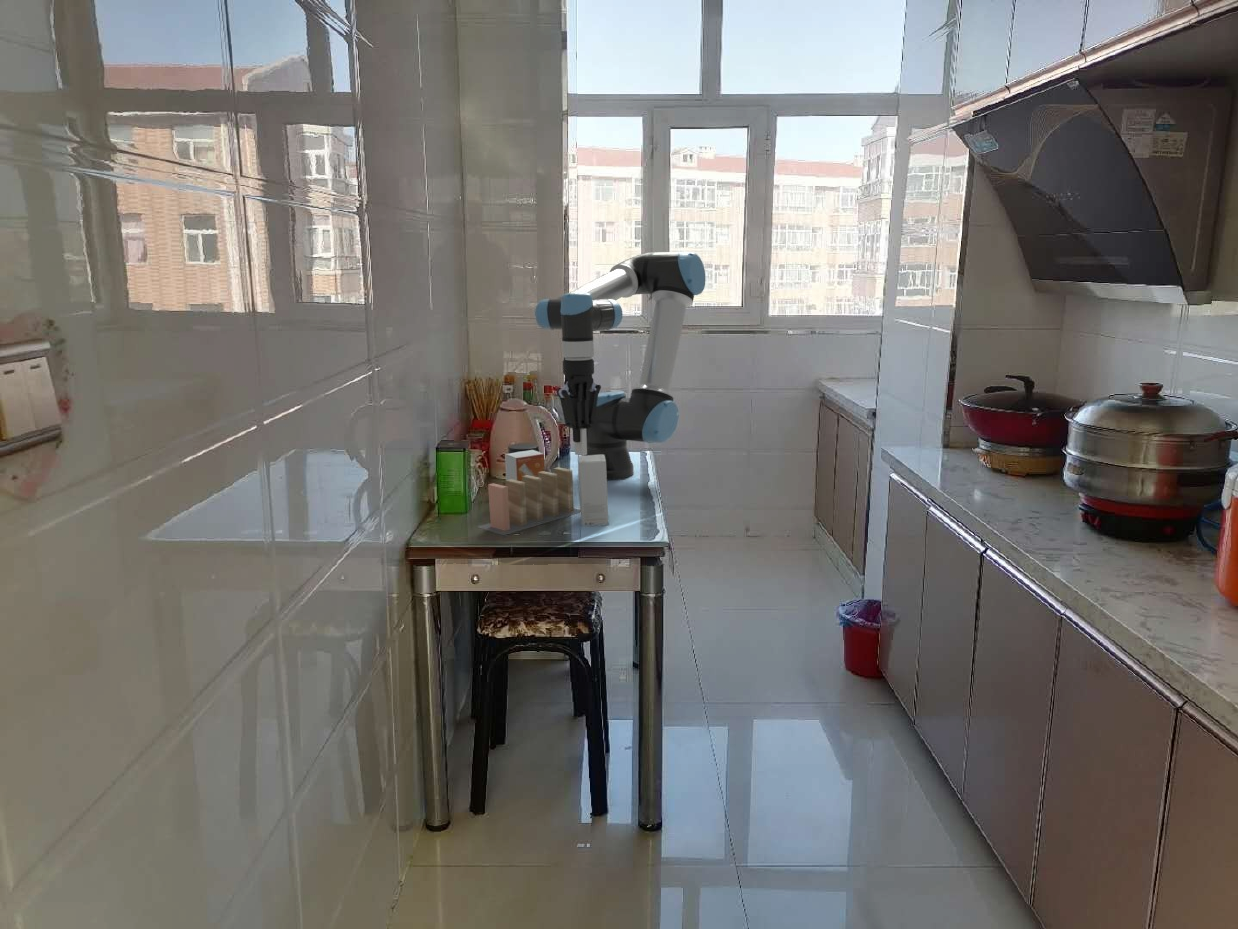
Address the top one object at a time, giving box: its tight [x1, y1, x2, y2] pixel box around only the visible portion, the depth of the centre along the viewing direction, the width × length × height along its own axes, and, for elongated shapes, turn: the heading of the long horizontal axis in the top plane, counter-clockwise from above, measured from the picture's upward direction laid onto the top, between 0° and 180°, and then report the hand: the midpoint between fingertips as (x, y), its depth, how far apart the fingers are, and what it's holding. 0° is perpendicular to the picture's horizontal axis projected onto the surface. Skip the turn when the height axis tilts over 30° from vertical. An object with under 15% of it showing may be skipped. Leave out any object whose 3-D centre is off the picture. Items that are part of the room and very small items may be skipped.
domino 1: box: [487, 483, 510, 531], centre depth 212 cm, size 2×5×10 cm, turn 46°
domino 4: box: [538, 470, 559, 516], centre depth 222 cm, size 2×5×10 cm, turn 46°
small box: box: [504, 450, 546, 482], centre depth 233 cm, size 8×6×13 cm
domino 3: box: [522, 475, 543, 521], centre depth 219 cm, size 2×5×10 cm, turn 46°
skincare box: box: [577, 455, 610, 527], centre depth 215 cm, size 8×7×16 cm
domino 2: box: [504, 479, 527, 526], centre depth 215 cm, size 2×5×10 cm, turn 46°
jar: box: [507, 442, 540, 454], centre depth 247 cm, size 9×8×12 cm
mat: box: [477, 507, 581, 536], centre depth 219 cm, size 25×10×1 cm, turn 136°
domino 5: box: [552, 466, 575, 512], centre depth 226 cm, size 2×5×10 cm, turn 46°
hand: (580, 454), depth 228 cm, fingers closed
